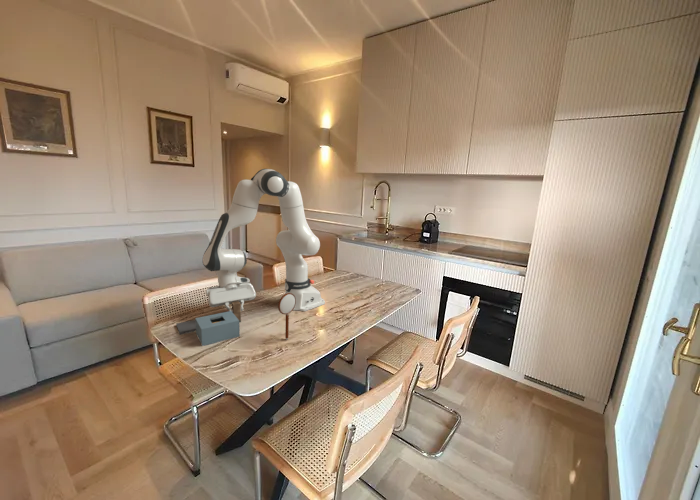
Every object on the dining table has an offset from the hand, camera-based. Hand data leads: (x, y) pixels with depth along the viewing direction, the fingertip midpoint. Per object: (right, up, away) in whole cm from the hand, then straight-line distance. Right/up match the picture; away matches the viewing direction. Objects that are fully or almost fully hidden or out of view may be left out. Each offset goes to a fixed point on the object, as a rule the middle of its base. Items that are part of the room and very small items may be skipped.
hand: (236, 311), depth 132 cm
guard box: (-3, -7, -11) cm, 14 cm away
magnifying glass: (+25, -9, -11) cm, 29 cm away
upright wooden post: (-1, -5, +2) cm, 5 cm away
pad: (-18, -6, -6) cm, 19 cm away
